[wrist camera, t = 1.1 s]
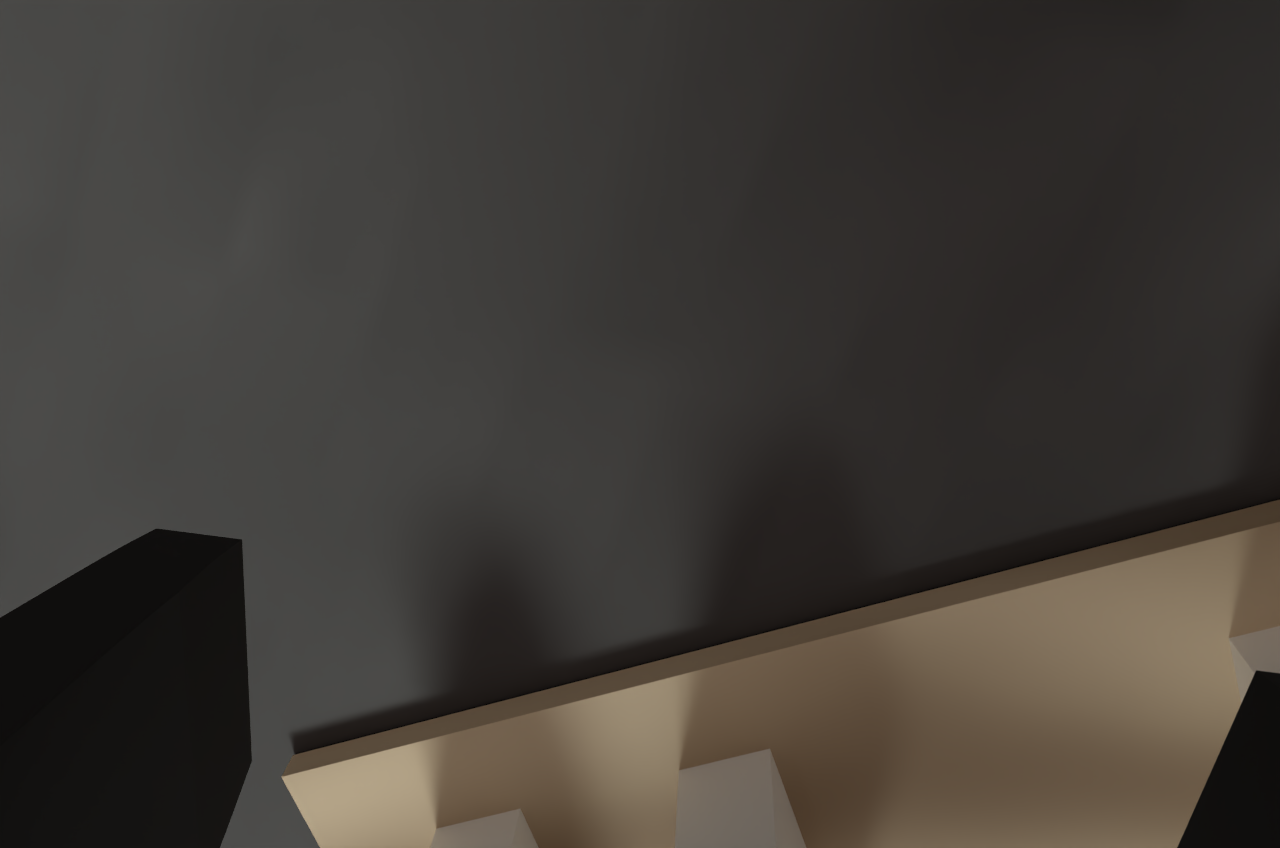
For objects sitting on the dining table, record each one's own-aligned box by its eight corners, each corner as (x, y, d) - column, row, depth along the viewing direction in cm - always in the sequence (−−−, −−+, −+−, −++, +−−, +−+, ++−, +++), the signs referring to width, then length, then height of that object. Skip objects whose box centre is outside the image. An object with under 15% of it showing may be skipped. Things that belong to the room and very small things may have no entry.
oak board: (1793, 802, 19) (1825, 828, 19) (462, 1068, 24) (455, 1095, 23) (1795, 366, 17) (1831, 380, 16) (293, 755, 21) (281, 776, 20)
